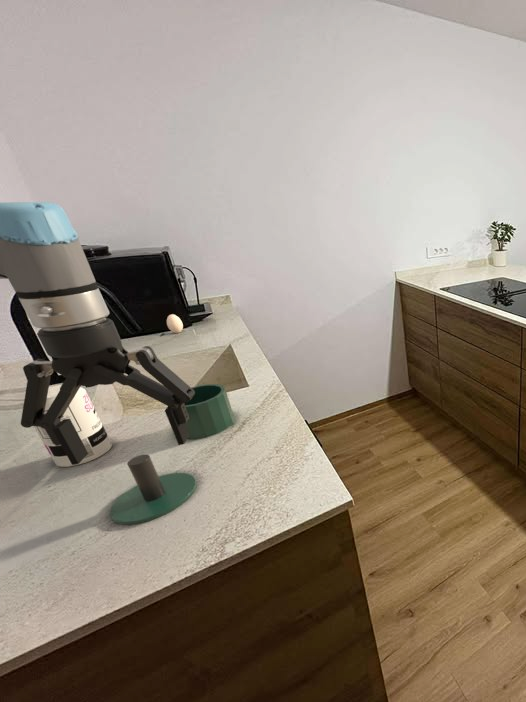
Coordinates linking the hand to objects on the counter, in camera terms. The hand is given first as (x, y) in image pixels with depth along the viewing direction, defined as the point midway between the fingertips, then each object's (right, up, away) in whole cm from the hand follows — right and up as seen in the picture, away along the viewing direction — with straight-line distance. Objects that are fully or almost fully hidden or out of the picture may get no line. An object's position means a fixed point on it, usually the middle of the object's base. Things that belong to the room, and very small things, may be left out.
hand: (134, 449), depth 60 cm
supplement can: (-24, -5, +16) cm, 30 cm away
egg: (-63, +25, +86) cm, 109 cm away
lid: (0, -9, +4) cm, 10 cm away
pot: (-6, -1, +25) cm, 26 cm away
